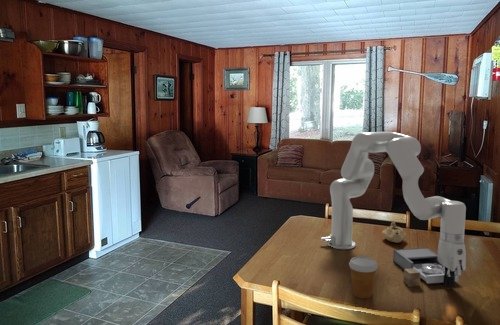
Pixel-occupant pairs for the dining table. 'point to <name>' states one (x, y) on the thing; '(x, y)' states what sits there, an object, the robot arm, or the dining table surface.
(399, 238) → the oil lamp
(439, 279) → the tray
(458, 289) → the dining table surface
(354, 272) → the disposable coffee cup
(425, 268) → the silver disc
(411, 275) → the walnut block
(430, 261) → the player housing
